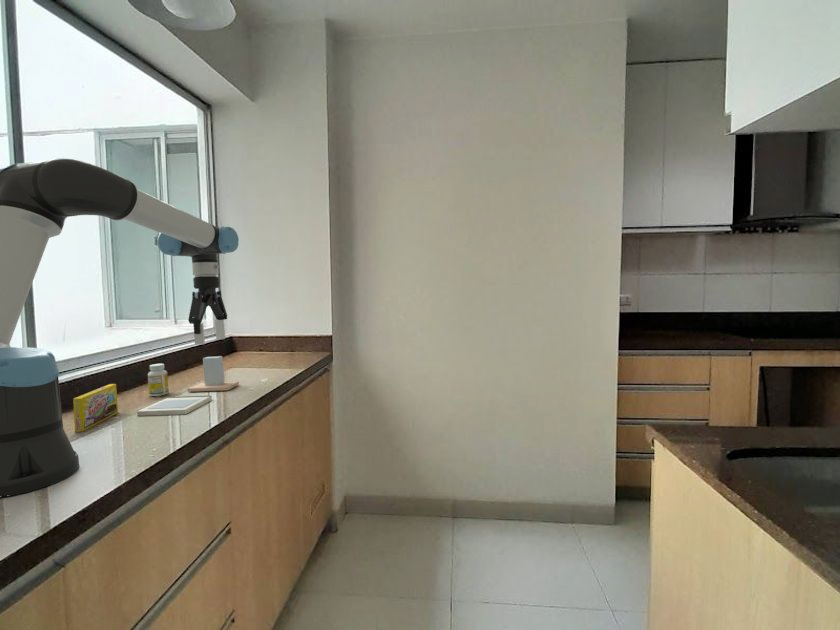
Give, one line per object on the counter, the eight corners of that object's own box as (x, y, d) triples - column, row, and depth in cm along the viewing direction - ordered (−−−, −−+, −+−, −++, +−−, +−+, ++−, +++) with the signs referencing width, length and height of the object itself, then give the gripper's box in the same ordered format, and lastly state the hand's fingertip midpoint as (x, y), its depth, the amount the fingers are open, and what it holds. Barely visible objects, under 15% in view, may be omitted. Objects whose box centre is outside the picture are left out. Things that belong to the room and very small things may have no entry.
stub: (227, 390, 142) (225, 359, 141) (187, 391, 142) (185, 360, 141) (238, 384, 150) (236, 354, 149) (200, 385, 150) (198, 356, 149)
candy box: (84, 432, 106) (80, 398, 106) (74, 433, 106) (70, 398, 105) (119, 412, 122) (116, 383, 122) (111, 413, 122) (108, 383, 121)
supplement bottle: (156, 397, 137) (153, 366, 137) (145, 396, 140) (142, 365, 139) (172, 393, 142) (170, 363, 141) (162, 391, 145) (159, 362, 144)
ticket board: (185, 414, 117) (185, 409, 117) (137, 415, 118) (136, 410, 118) (211, 399, 131) (211, 395, 131) (168, 401, 132) (168, 396, 132)
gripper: (196, 274, 131) (202, 346, 133) (234, 276, 156) (238, 336, 157) (172, 275, 131) (177, 347, 133) (213, 277, 156) (218, 337, 158)
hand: (210, 341), depth 145 cm, fingers open, 13 cm apart
